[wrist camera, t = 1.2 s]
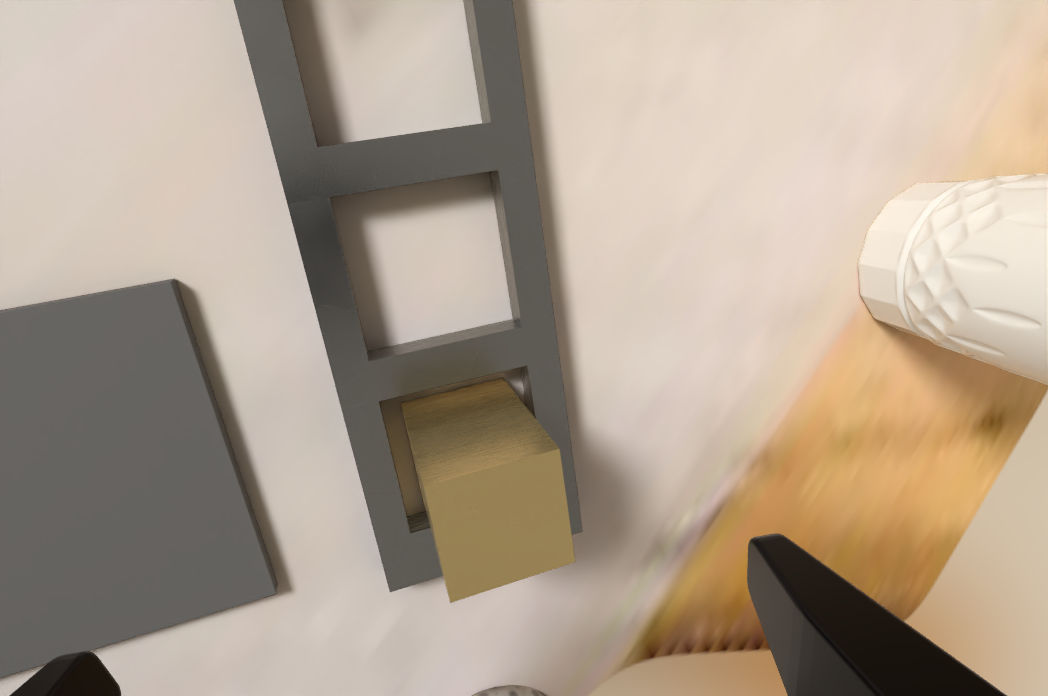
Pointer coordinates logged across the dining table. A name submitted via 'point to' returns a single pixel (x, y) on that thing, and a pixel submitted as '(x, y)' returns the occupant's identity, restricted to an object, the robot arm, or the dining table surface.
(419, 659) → the dining table surface
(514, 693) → the mug
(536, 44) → the dining table surface
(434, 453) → the mustard yellow block
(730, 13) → the dining table surface
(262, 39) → the grey slotted frame
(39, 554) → the rubber pad
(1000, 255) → the white cup
